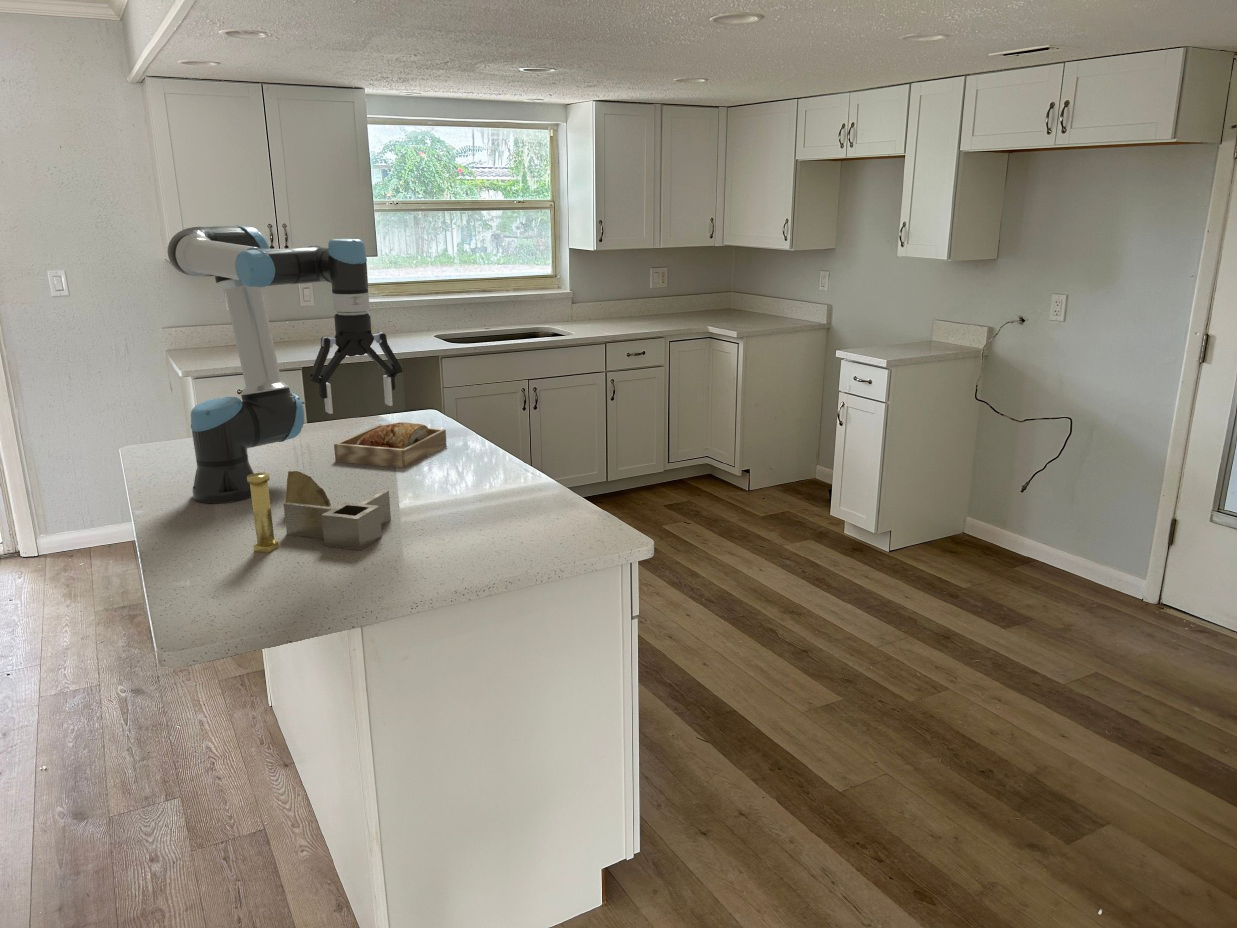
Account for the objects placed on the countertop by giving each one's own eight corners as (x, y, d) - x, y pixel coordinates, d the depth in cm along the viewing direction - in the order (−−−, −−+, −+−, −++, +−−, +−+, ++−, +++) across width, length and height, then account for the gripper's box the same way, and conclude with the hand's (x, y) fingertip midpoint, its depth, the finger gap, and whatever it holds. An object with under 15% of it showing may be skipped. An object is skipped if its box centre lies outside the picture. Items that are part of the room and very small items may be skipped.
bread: (400, 467, 243) (398, 432, 241) (345, 461, 249) (342, 426, 247) (440, 448, 262) (438, 415, 259) (387, 443, 268) (385, 410, 265)
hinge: (276, 540, 190) (272, 509, 188) (326, 512, 207) (324, 483, 205) (360, 550, 185) (357, 518, 183) (405, 521, 202) (403, 491, 200)
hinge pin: (251, 551, 184) (242, 477, 180) (264, 544, 188) (256, 471, 183) (268, 553, 183) (259, 479, 178) (281, 546, 187) (273, 473, 182)
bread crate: (335, 461, 248) (333, 444, 247) (381, 440, 270) (379, 424, 269) (405, 467, 242) (404, 450, 241) (446, 445, 264) (445, 429, 263)
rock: (332, 491, 215) (289, 489, 212) (332, 470, 208) (287, 467, 206) (328, 529, 208) (283, 527, 206) (328, 508, 202) (282, 506, 199)
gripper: (298, 318, 182) (308, 419, 188) (413, 310, 196) (419, 404, 202) (288, 314, 188) (297, 412, 194) (400, 307, 202) (406, 398, 208)
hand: (359, 408), depth 198 cm, fingers open, 13 cm apart
